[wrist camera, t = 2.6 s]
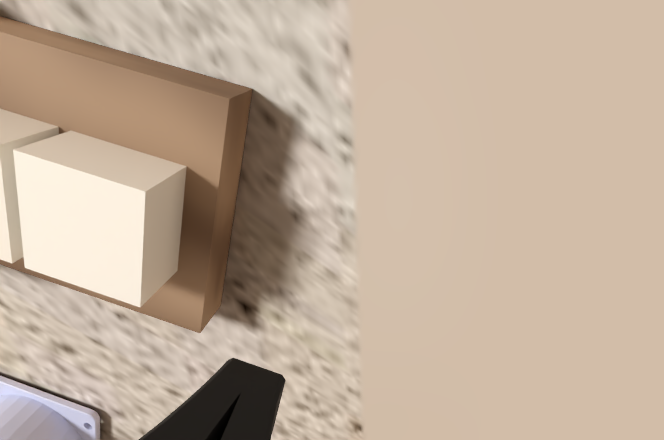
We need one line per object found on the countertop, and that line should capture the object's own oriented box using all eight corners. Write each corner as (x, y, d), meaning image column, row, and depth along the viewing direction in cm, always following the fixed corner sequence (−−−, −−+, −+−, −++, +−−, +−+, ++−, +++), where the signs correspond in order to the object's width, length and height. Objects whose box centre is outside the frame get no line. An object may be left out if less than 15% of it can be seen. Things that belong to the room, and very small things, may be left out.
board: (220, 305, 21) (200, 333, 19) (-11, 227, 22) (-51, 247, 20) (252, 89, 16) (229, 98, 15) (-41, 4, 18) (-95, 4, 16)
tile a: (177, 270, 18) (140, 307, 16) (74, 236, 18) (24, 267, 16) (186, 166, 16) (145, 191, 14) (70, 130, 16) (13, 149, 14)
